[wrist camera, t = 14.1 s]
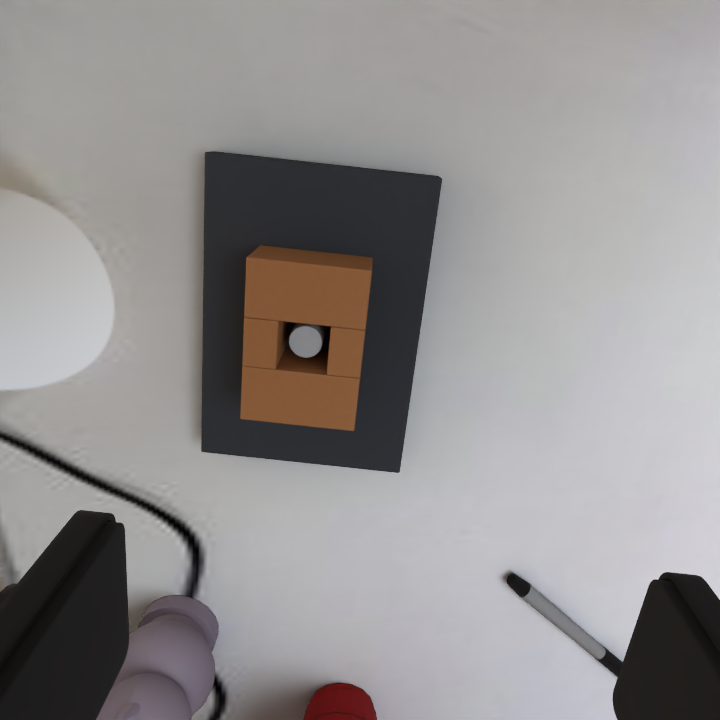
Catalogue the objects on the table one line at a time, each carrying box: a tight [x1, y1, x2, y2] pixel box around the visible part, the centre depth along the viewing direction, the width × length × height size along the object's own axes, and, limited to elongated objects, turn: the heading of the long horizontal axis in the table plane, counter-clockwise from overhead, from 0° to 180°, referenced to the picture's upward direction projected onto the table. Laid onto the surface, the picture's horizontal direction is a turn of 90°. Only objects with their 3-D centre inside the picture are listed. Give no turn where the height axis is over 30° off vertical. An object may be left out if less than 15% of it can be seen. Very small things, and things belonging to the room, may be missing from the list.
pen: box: [507, 574, 623, 677], centre depth 48 cm, size 1×16×1 cm, turn 47°
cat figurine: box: [96, 595, 219, 720], centre depth 44 cm, size 8×8×12 cm
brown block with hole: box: [240, 245, 373, 431], centre depth 37 cm, size 10×7×4 cm
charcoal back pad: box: [201, 151, 442, 473], centre depth 38 cm, size 20×14×5 cm
